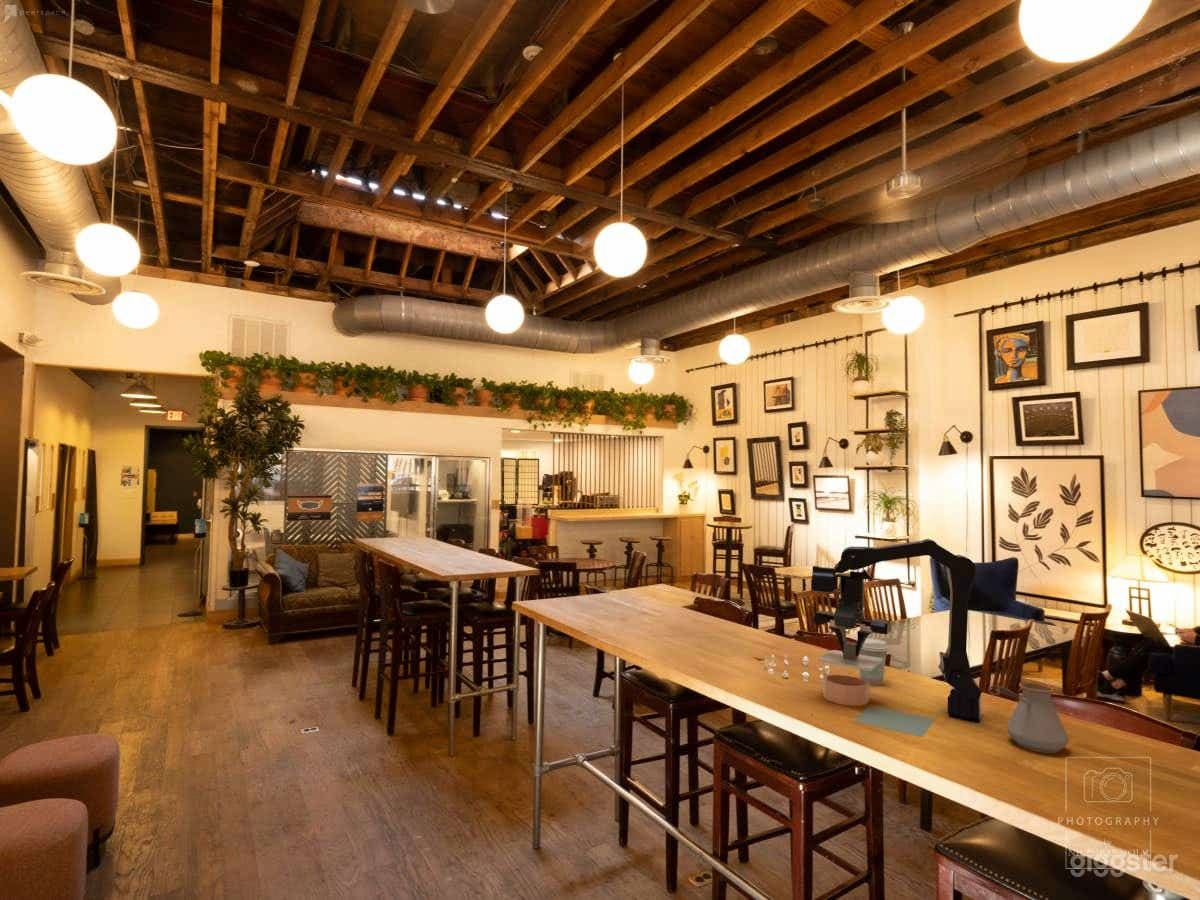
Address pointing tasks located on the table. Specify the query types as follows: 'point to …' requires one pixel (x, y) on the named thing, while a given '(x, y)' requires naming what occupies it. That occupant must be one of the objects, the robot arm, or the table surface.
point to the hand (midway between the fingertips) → (850, 655)
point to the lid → (850, 658)
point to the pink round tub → (846, 689)
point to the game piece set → (805, 674)
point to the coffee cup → (879, 651)
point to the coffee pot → (1035, 719)
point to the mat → (895, 721)
